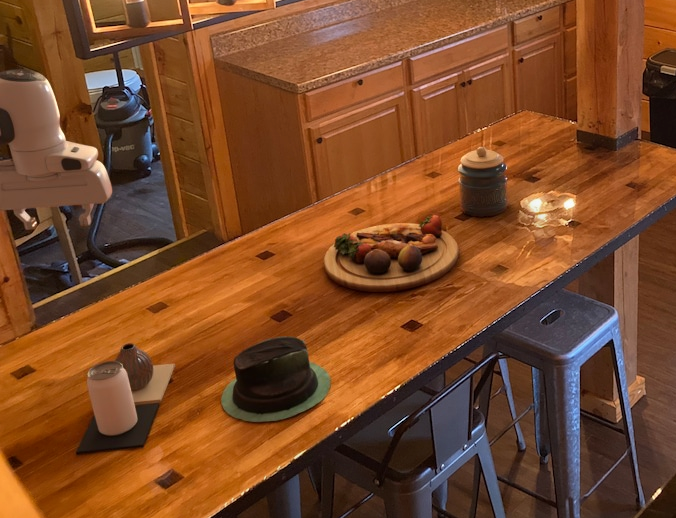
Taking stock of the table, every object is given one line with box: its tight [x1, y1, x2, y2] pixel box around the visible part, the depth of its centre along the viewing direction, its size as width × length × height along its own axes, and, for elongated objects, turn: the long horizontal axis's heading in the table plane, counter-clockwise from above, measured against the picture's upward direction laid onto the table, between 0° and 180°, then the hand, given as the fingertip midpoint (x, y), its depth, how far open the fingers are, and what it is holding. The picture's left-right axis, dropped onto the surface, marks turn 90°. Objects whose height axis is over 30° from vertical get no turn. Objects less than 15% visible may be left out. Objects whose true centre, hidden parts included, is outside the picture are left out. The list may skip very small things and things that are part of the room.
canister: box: [457, 146, 509, 218], centre depth 254 cm, size 13×13×18 cm
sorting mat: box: [75, 363, 176, 455], centre depth 177 cm, size 11×25×1 cm, turn 10°
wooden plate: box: [322, 214, 460, 293], centre depth 228 cm, size 32×32×8 cm
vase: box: [114, 342, 154, 391], centre depth 181 cm, size 7×7×9 cm
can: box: [86, 360, 137, 436], centre depth 169 cm, size 6×6×12 cm
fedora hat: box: [220, 336, 332, 423], centre depth 181 cm, size 15×19×20 cm
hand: (59, 226), depth 177 cm, fingers open, 8 cm apart
